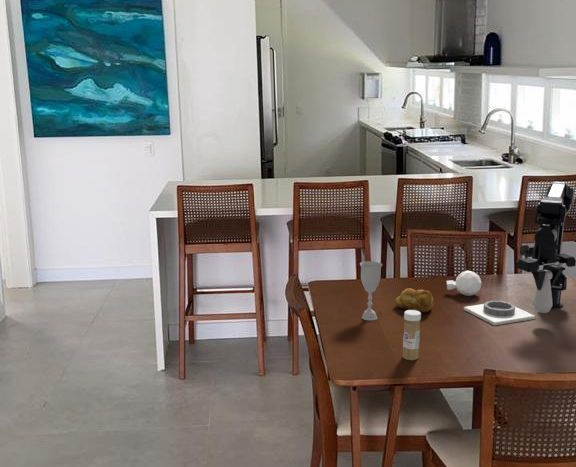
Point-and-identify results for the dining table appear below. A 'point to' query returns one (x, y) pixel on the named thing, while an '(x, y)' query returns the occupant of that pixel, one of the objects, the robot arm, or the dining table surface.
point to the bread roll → (415, 300)
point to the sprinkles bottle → (411, 334)
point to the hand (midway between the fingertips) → (543, 289)
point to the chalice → (370, 284)
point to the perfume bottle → (466, 283)
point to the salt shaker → (544, 295)
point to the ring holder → (499, 312)
